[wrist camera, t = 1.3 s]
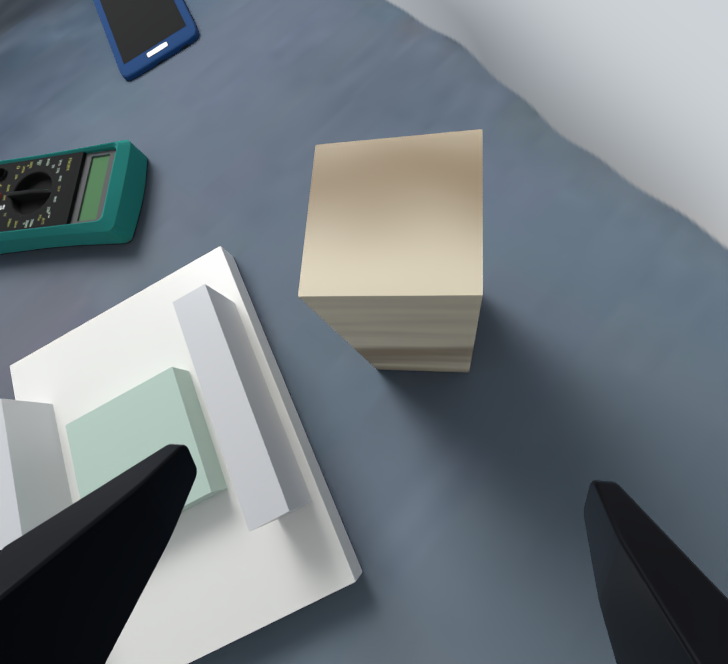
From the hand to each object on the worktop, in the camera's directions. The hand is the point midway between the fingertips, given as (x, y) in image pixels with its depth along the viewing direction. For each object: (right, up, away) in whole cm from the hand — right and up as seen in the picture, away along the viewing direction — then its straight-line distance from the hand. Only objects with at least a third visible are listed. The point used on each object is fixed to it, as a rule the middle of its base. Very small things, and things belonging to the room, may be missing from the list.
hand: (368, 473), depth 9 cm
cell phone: (-19, +31, +27) cm, 45 cm away
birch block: (+3, +3, +14) cm, 15 cm away
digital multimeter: (-23, +12, +23) cm, 35 cm away
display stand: (-12, -4, +15) cm, 19 cm away
